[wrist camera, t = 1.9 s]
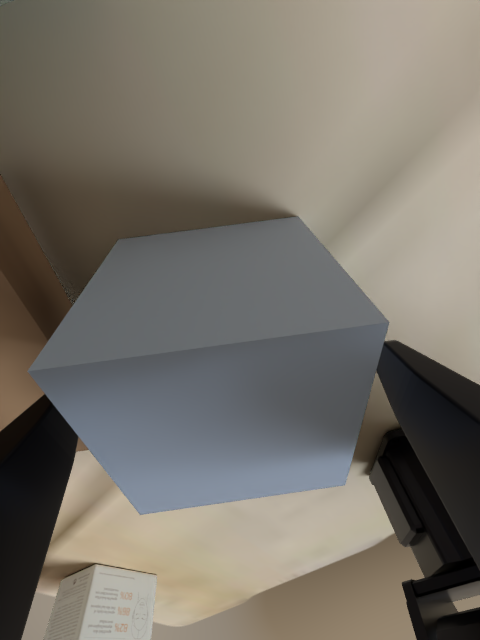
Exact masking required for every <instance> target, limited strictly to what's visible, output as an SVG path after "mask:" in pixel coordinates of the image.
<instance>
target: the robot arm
mask: <svg viewBox="0 0 480 640" xmlns="http://www.w3.org/2000/svg"><path fill="white" fill-rule="evenodd" d="M376 371H377V373H378V376H379V378H380V381H381V383H382V385H383V388H384V390H385V393H386V395H387V397H388V400H389V402H390V405H391V407H392V409H393V412H394V414H395V416H396V418H397V420H398V422H399V424H400V426H401V428H402V430H395V431H390V432H388V433H387V434H385V436H384V438H383V441H382V444H381V446H380V449H379V452H378V455H377V457H376V460H375V463H374V465H373V468H372V471H371V474H370V476H369V479H370V481H371V484H372V485H374V486H375V489H376V491H377V493H378V495H379V498H380V500H381V502H382V504H383V507H384V509H385V511H386V513H387V516H388V518H389V520H390V522H391V525H392V527H393V529H394V531H395V534H396V536H397V538H398V540H399V542H400V543H401V544H402V545H403V546H404V547H409V546H410V547H411V548H412V551H413V553H414V555H415V558H416V559H417V562H418V564H419V566H420V568H421V570H422V572H423V575H424V577H425V578H423V579H420V580H412V579H411V580H408V581H405V582H402V586H403V590H404V593H405V597H406V600H407V607H408V611H409V614H410V618H411V621H412V625H413V628H414V631H415V635H416V638H417V640H480V607H479V608H474V609H470V610H466V611H462V612H458V611H457V609H456V608H455V606H454V604H453V602H454V601H458V600H462V599H466V598H470V597H473V596H477V595H480V385H478V384H477V383H475V382H473V381H471V380H469V379H467V378H465V377H464V376H462V375H460V374H458V373H456V372H454V371H452V370H451V369H449V368H447V367H445V366H443V365H441V364H440V363H438V362H436V361H434V360H432V359H430V358H428V357H427V356H425V355H423V354H421V353H419V352H417V351H415V350H414V349H412V348H410V347H408V346H406V345H404V344H402V343H401V342H399V341H396V340H391V341H384V344H383V347H382V351H381V355H380V358H379V362H378V366H377V369H376ZM78 437H79V436H78V435H77V434H76V433H75V431H74V430H73V429H72V428H71V426H70V425H69V424H68V422H67V421H66V420H65V419H64V417H63V416H62V415H61V414H60V412H59V411H58V410H57V408H56V407H55V406H54V405H53V403H52V402H51V401H50V400H49V398H48V397H47V396H46V394H44V395H43V396H42V397H40V398H39V399H38V400H37V401H36V402H34V403H33V404H32V405H31V406H30V407H29V408H27V409H26V410H25V411H24V412H23V413H21V414H20V415H19V416H18V417H17V418H16V419H14V420H13V421H12V422H11V423H10V424H8V425H7V426H6V427H5V428H4V429H3V430H1V431H0V640H21V638H22V635H23V631H24V628H25V625H26V621H27V618H28V614H29V611H30V608H31V605H32V601H33V598H34V594H35V591H36V588H37V584H38V581H39V578H40V574H41V571H42V567H43V564H44V561H45V557H46V554H47V551H48V547H49V544H50V541H51V537H52V534H53V530H54V527H55V524H56V520H57V517H58V514H59V510H60V507H61V503H62V500H63V497H64V493H65V490H66V487H67V483H68V480H69V476H70V473H71V470H72V466H73V462H74V458H75V454H76V448H77V443H78Z"/></svg>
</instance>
